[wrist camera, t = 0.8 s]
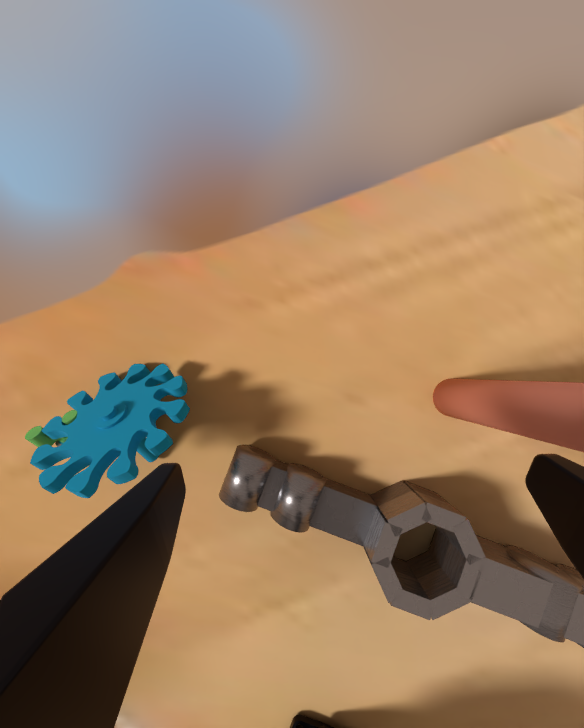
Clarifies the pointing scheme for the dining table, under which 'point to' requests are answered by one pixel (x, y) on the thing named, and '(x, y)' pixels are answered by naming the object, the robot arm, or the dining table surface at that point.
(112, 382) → the gear
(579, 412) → the pin
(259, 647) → the dining table surface
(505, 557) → the grey jointed bar
